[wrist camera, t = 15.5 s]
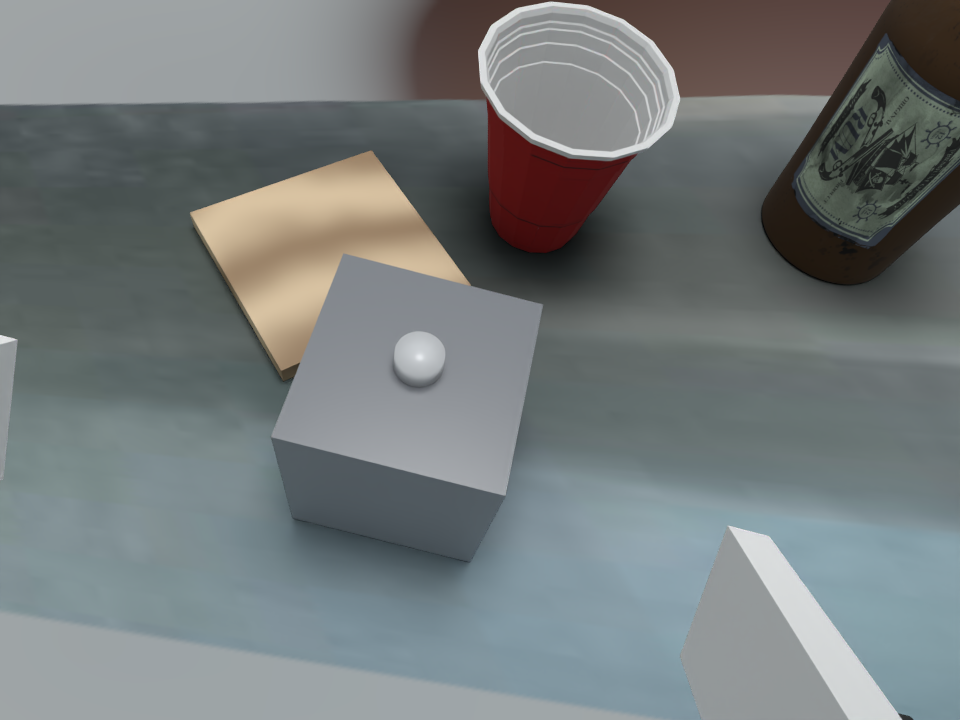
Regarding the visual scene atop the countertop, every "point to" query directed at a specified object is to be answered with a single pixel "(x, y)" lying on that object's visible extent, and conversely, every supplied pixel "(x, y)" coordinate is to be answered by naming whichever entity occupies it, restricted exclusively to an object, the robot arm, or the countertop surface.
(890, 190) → the brown glass bottle shape
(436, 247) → the oak board
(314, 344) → the grey knobbed cube
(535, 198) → the plastic cup
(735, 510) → the countertop surface
